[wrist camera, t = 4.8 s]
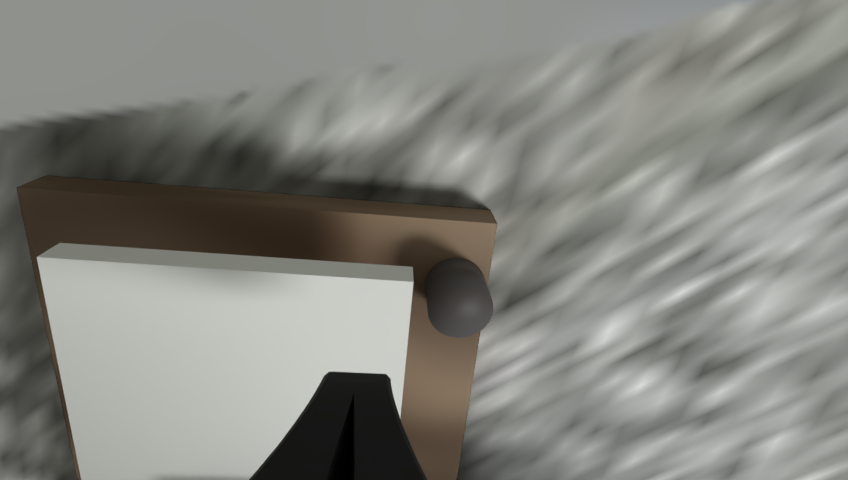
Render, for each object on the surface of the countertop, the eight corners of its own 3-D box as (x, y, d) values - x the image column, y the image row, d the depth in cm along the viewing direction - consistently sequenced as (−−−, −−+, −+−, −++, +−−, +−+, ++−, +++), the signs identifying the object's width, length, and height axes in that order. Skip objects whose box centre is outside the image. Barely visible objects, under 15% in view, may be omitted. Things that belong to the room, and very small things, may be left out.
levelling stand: (439, 544, 26) (446, 632, 22) (112, 535, 25) (60, 626, 21) (490, 210, 19) (512, 253, 16) (46, 175, 18) (-47, 214, 14)
